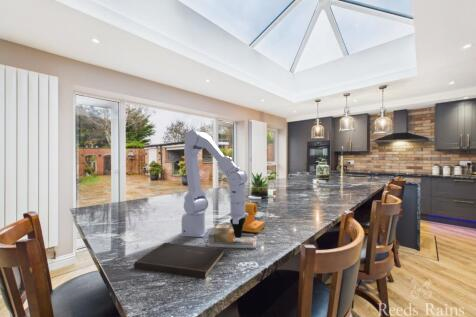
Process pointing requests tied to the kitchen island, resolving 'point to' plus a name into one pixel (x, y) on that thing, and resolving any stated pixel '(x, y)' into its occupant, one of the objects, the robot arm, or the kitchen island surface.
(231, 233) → the sliding jaw
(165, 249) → the dark brown flat slab
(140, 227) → the kitchen island surface
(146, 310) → the kitchen island surface
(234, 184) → the robot arm
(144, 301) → the kitchen island surface
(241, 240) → the vise base
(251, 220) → the bracket
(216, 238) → the maple block
